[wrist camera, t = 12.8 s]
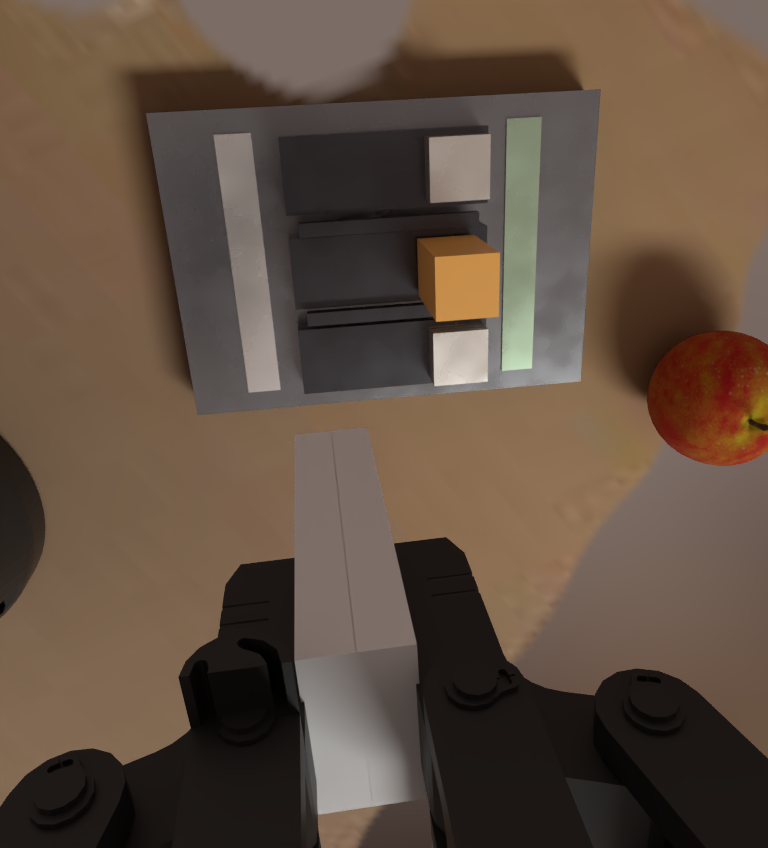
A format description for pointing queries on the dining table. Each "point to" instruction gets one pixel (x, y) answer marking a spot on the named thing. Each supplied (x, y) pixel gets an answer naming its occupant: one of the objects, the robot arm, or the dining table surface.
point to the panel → (267, 121)
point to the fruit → (713, 398)
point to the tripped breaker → (458, 277)
